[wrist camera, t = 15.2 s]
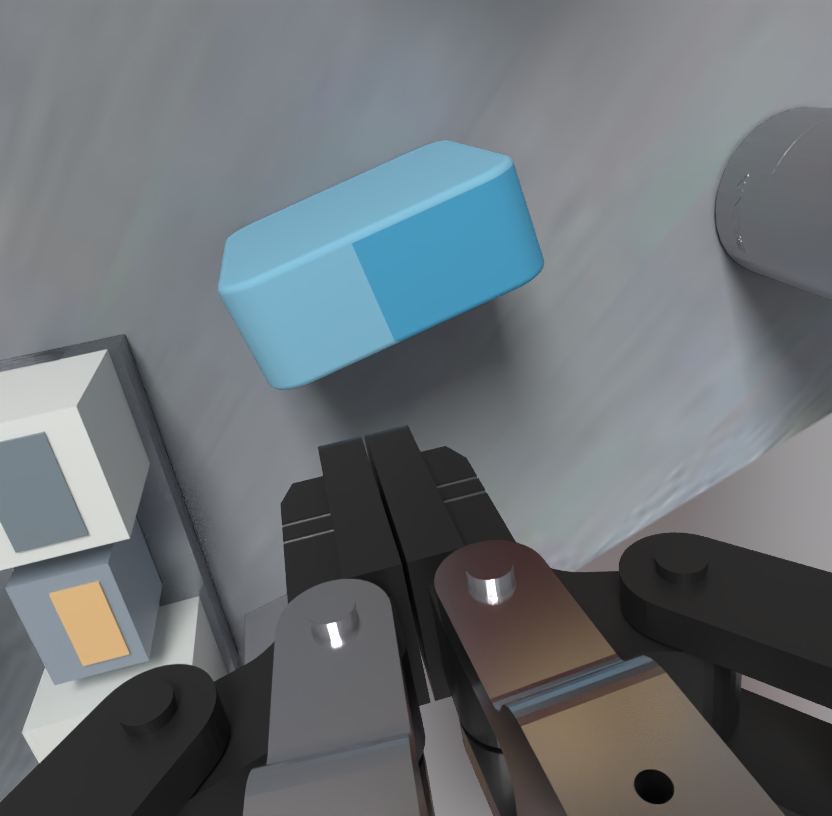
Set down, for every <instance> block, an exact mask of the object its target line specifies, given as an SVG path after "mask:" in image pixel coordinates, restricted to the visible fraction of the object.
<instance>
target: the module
mask: <svg viewBox="0 0 832 816" xmlns="http://www.w3.org/2000/svg"><path fill="white" fill-rule="evenodd" d="M5 589H6V591H7V593H8V595H9V597H10V599H11V601H12V603H13V605H14V607H15V609H16V611H17V613H18V615H19V617H20V619H21V621H22V623H23V625H24V627H25V628H26V630H27V632H28V634H29V636H30V638H31V640H32V642H33V644H34V646H35V648H36V650H37V652H38V654H39V656H40V658H41V660H42V662H43V664H44V666H45V668H46V670H47V672H48V674H49V676H50V678H51V680H52V681H53V683H54V685H58V684H62V683H66V682H70V681H74V680H77V679H81V678H85V677H89V676H93V675H96V674H100V673H104V672H108V671H112V670H115V669H119V668H123V667H127V666H131V665H134V664H138V663H142V662H146V661H149V657H150V652H151V646H152V640H153V635H154V629H155V624H156V618H157V612H158V607H159V601H160V595H161V590H162V583H161V580H160V577H159V575H158V572H157V570H156V567H155V565H154V562H153V559H152V557H151V554H150V552H149V549H148V546H147V544H146V541H145V539H144V536H143V534H142V531H141V528H140V526H139V523H138V521H137V518H135V521H134V525H133V529H132V533H131V536H130V539H126V540H122V541H118V542H114V543H110V544H106V545H102V546H98V547H94V548H89V549H85V550H81V551H77V552H73V553H69V554H65V555H61V556H57V557H53V558H49V559H45V560H41V561H37V562H33V563H29V564H25V565H21V566H17V567H16V568H15V570H14V572H13V574H12V576H11V578H10V580H9V582H8V584H7V586H6V588H5Z"/></svg>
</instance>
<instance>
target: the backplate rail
mask: <svg viewBox="0 0 832 816" xmlns="http://www.w3.org/2000/svg"><path fill="white" fill-rule="evenodd" d="M106 349H108V351H109V354H110V357H111V359H112V362H113V365H114V368H115V370H116V373H117V376H118V378H119V381H120V384H121V386H122V389H123V392H124V395H125V397H126V400H127V403H128V405H129V408H130V411H131V414H132V416H133V419H134V422H135V424H136V427H137V430H138V432H139V435H140V438H141V441H142V443H143V446H144V449H145V451H146V454H147V457H148V459H149V462H150V465H149V469H148V473H147V477H146V480H145V484H144V488H143V492H142V495H141V499H140V503H139V506H138V510H137V514H136V518H137V521H138V523H139V526H140V528H141V531H142V534H143V536H144V539H145V541H146V544H147V546H148V549H149V552H150V554H151V557H152V559H153V562H154V565H155V567H156V570H157V572H158V575H159V577H160V580H161V583H162V590H161V595H160V601H159V607H158V608H160V606H164V605H168V604H172V603H175V602H179V601H183V600H187V599H191V598H195V597H200V600H201V603H202V605H203V608H204V611H205V614H206V616H207V619H208V622H209V624H210V627H211V630H212V632H213V635H214V638H215V641H216V643H217V646H218V649H219V651H220V654H221V657H222V659H223V662H224V665H225V668H226V670H227V673H228V674H229V673H231V672H233V671H235V670H236V669H237V666H238V652H237V649H236V646H235V643H234V641H233V638H232V635H231V632H230V629H229V627H228V624H227V621H226V618H225V615H224V612H223V610H222V607H221V604H220V601H219V598H218V596H217V593H216V590H215V587H214V584H213V582H212V579H211V576H210V573H209V570H208V567H207V565H206V562H205V559H204V556H203V553H202V551H201V548H200V545H199V542H198V539H197V537H196V534H195V531H194V528H193V525H192V522H191V520H190V517H189V514H188V511H187V508H186V506H185V503H184V500H183V497H182V494H181V492H180V489H179V486H178V483H177V480H176V477H175V475H174V472H173V469H172V466H171V463H170V461H169V458H168V455H167V452H166V449H165V446H164V444H163V441H162V438H161V435H160V432H159V430H158V427H157V424H156V421H155V418H154V416H153V413H152V410H151V407H150V404H149V401H148V399H147V396H146V393H145V390H144V387H143V385H142V382H141V379H140V376H139V373H138V371H137V368H136V365H135V362H134V359H133V356H132V354H131V351H130V348H129V345H128V342H127V340H126V337H125V334H124V335H119V336H114V337H110V338H105V339H100V340H95V341H91V342H86V343H81V344H77V345H72V346H67V347H62V348H58V349H53V350H48V351H44V352H39V353H34V354H29V355H25V356H20V357H15V358H11V359H6V360H1V361H0V372H4V371H8V370H13V369H18V368H22V367H27V366H32V365H36V364H41V363H46V362H47V363H48V362H50V361H52V362H53V361H55V360H60V359H64V358H69V357H73V356H78V355H83V354H87V353H92V352H97V351H101V350H106ZM15 568H16V567H14V569H15Z"/></svg>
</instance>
